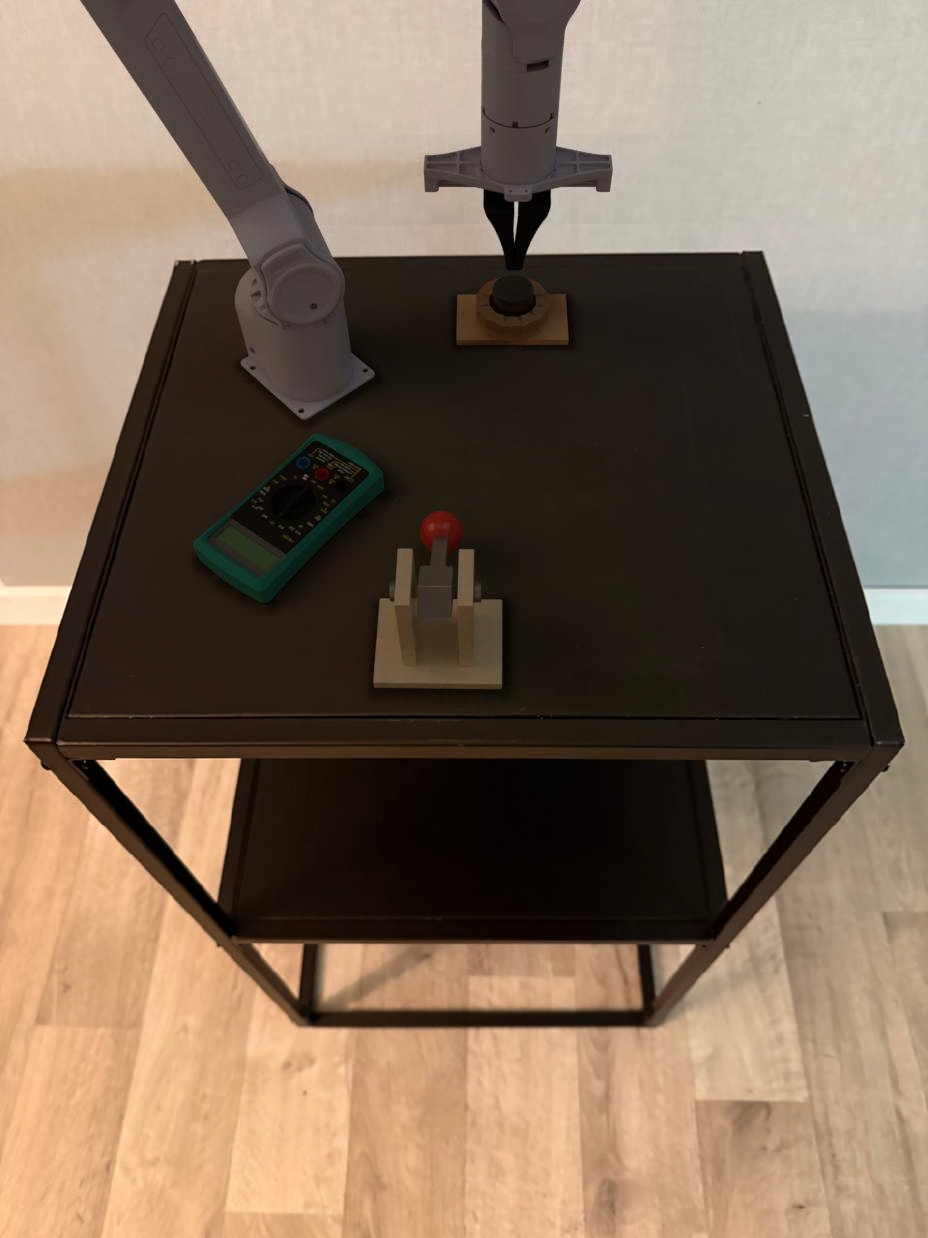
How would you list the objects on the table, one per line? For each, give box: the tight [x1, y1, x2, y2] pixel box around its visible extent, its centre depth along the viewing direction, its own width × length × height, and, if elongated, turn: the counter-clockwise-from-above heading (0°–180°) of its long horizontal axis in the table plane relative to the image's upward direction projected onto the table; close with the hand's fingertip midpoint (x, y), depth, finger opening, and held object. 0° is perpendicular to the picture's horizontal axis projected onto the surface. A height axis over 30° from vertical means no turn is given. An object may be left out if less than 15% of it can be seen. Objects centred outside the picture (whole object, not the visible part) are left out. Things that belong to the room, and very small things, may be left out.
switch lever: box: [417, 510, 465, 618], centre depth 66 cm, size 12×3×3 cm, turn 179°
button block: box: [455, 277, 570, 346], centre depth 85 cm, size 10×6×2 cm, turn 89°
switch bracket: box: [372, 548, 503, 690], centre depth 64 cm, size 7×9×9 cm
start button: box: [492, 274, 534, 317], centre depth 83 cm, size 4×4×2 cm
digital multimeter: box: [192, 432, 386, 604], centre depth 73 cm, size 7×15×3 cm, turn 143°
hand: (514, 262), depth 80 cm, fingers closed
